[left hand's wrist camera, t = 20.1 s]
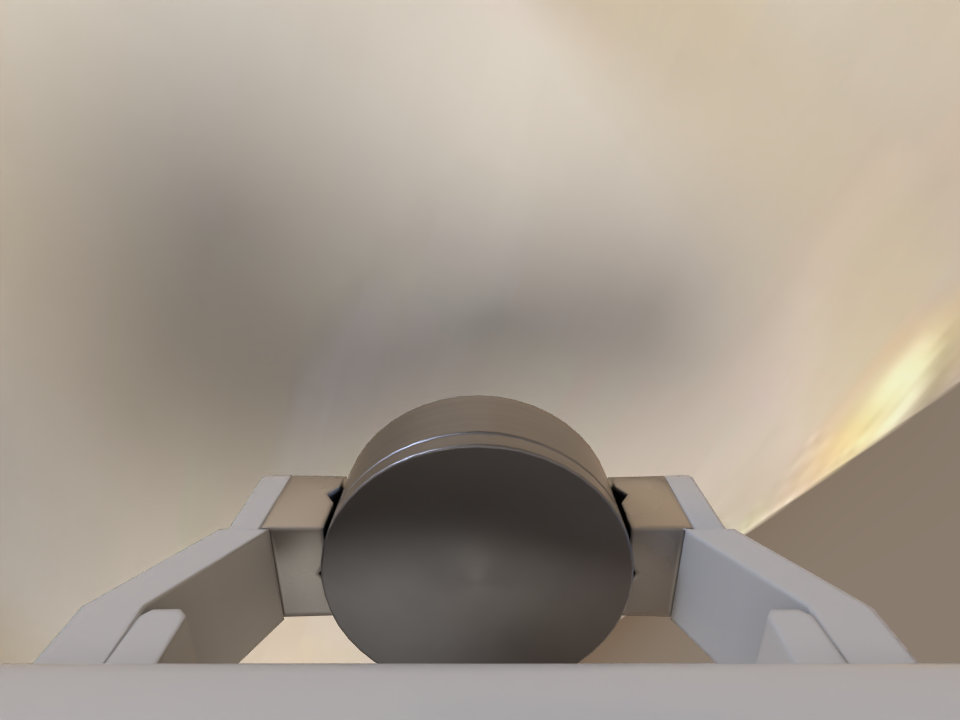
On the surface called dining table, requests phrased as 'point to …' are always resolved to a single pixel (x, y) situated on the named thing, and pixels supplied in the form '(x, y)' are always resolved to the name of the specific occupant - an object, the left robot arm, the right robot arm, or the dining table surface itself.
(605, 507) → the lid
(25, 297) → the dining table surface
